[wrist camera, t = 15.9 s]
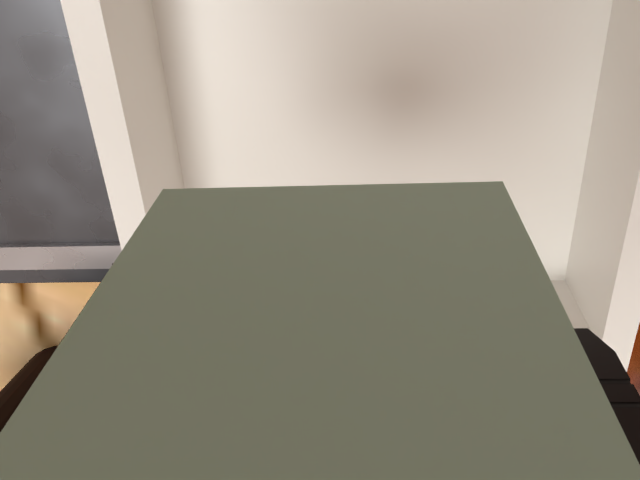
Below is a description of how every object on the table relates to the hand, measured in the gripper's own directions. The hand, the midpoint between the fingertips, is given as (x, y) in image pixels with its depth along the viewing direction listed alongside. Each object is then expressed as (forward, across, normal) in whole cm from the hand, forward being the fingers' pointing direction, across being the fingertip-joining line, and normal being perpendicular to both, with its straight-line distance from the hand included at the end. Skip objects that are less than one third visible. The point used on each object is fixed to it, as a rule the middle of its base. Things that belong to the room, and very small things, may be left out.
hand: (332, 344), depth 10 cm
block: (+1, 0, 0) cm, 1 cm away
